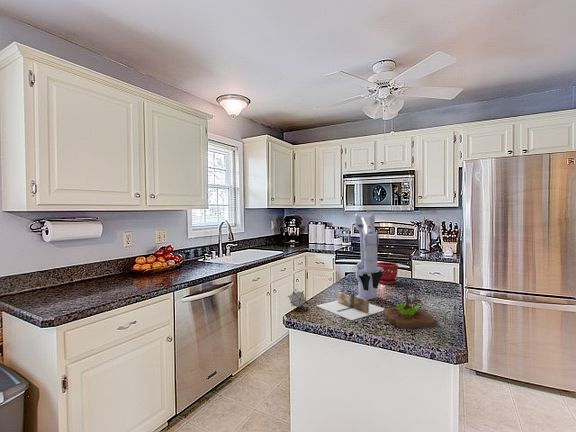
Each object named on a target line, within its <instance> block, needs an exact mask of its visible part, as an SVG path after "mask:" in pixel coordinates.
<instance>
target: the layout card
mask: <svg viewBox="0 0 576 432" xmlns="http://www.w3.org/2000/svg"><path fill="white" fill-rule="evenodd" d="M315 306H316V308H320V309H322V310H324V311H327V312H330V313H332V314H335V315H337V316H339V317H342V318H345V319H346V320H349V321H351V322H352V321H355V320H359V319H363V318H366V317H369V316H372V315H375V314H379V313H382V312H383V311H384V309H385V308H384V307H380V306H378V305H375V304H372V303H369V312H368V313H367V312H364V311H361V310H358V309H356V308H351V307H349V306H346V305H343V304H340V303H338V299H337V300H334V301H333V300H332V301H330V302H325V303H321V304H317V305H315Z"/></svg>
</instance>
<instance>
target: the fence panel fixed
mask: <svg viewBox="0 0 576 432" xmlns="http://www.w3.org/2000/svg"><path fill="white" fill-rule="evenodd" d="M354 297H355V293H350V295H349V294H345V293H344V292H339V291H338V292H337V300H338V303H340V304H343V305H346V306H349V307H351V308H354Z"/></svg>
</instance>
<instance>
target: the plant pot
mask: <svg viewBox="0 0 576 432" xmlns="http://www.w3.org/2000/svg"><path fill="white" fill-rule="evenodd" d="M377 267H381V268H383V272H380V273H383V275H382V277H381V279H380V281H379V284H383V285H393V284H396V283H397V280H396V278H397V275H398V269H399V266H398V263H394V262H385V261H384V262H383V261H381V262H377Z"/></svg>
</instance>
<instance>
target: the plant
mask: <svg viewBox="0 0 576 432" xmlns="http://www.w3.org/2000/svg"><path fill="white" fill-rule="evenodd" d="M402 295H403V296H404V297H405V298H406V299H405V302H404V303H401V302H399V304H400V305H399V304H398V303H395V304H394V305H395V307H394V306H393V307H385V308H384V311H382V312H383V315H384V318H385V322H388V323H389V325H395V326H396V327H397V328H401V329H402V328H403V329H414V328H433V327H435V326H436V325H437V324H438V323H437V321H438V320H437V319H436V318H434V315H433V314H430V313H429V312H427V311H425V310H424V309H421V308H420V307H421V306H420V305H415V306H414V303H415V302H418V304H422V302H423V301H422V300H421V299H418V298H416V299H413V300H410V299H409V296H408V293H407V291H405V292H403V293H402Z"/></svg>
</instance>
